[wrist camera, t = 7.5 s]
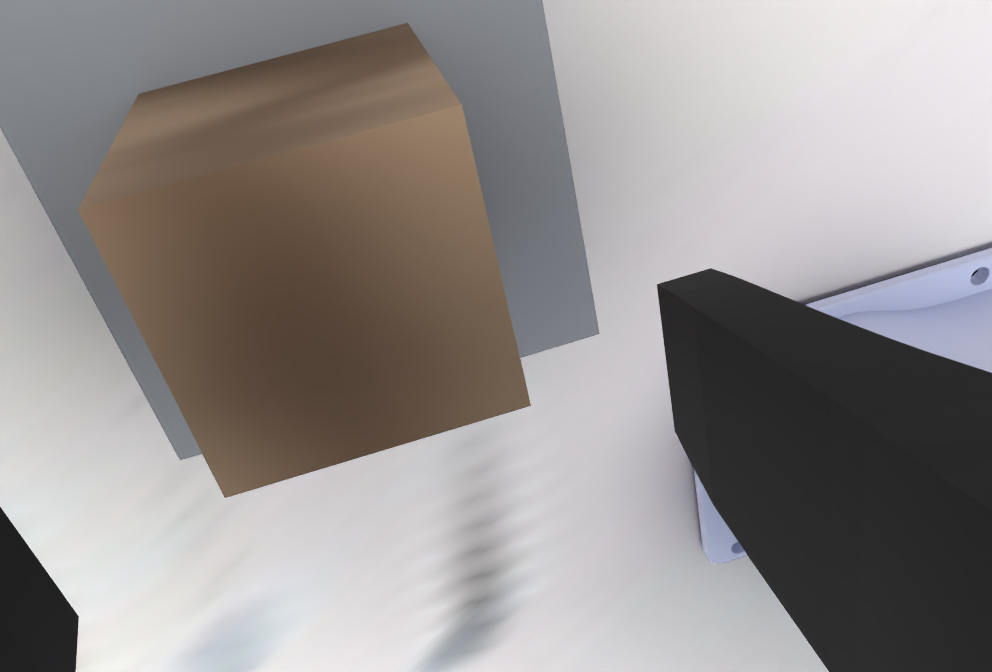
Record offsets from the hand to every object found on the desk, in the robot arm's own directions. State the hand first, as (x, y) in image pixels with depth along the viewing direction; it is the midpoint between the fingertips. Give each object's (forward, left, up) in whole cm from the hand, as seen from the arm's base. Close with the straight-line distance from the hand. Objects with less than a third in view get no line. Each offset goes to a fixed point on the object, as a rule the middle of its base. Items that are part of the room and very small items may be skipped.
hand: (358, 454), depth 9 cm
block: (0, 0, -7) cm, 7 cm away
